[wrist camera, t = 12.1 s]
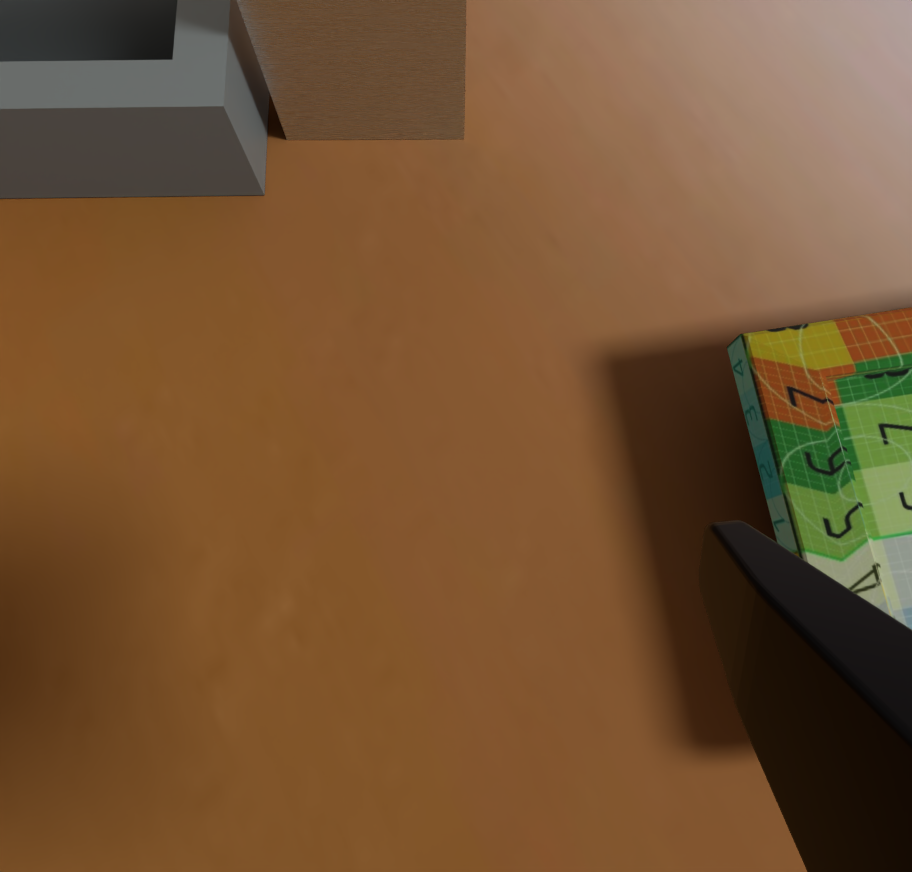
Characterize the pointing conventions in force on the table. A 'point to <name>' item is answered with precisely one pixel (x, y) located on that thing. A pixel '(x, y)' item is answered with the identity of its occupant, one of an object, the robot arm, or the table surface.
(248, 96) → the slot box
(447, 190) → the table surface
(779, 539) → the puzzle game
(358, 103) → the cover plate
